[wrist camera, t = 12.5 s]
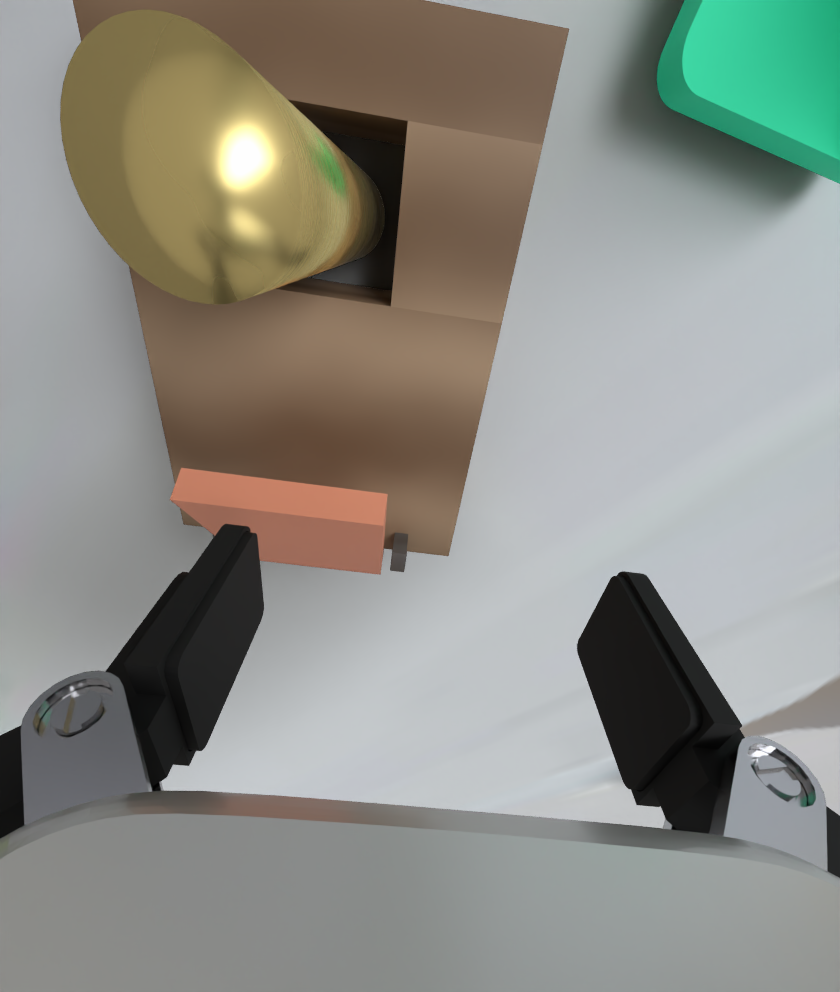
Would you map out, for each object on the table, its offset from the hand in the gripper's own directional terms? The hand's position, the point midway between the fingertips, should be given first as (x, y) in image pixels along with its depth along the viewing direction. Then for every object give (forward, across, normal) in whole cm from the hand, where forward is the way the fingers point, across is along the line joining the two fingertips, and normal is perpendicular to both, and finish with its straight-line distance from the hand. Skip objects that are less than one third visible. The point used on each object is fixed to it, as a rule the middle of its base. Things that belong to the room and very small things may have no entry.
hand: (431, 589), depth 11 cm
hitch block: (+11, +4, -4) cm, 12 cm away
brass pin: (+11, +4, -8) cm, 14 cm away
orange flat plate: (+4, +4, +2) cm, 6 cm away
